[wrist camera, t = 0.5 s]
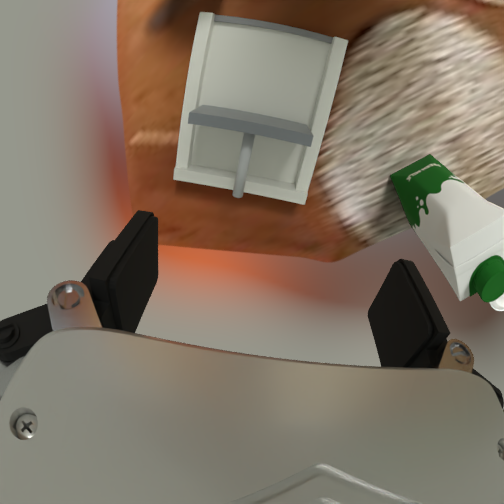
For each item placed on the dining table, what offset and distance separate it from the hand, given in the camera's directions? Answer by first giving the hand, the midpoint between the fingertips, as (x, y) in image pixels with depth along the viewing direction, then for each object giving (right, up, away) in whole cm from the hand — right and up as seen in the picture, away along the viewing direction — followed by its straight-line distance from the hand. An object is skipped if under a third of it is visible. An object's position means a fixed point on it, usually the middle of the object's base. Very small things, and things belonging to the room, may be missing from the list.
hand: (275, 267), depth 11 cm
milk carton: (+22, +10, +26) cm, 36 cm away
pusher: (-1, +13, +24) cm, 27 cm away
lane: (0, +19, +21) cm, 28 cm away
